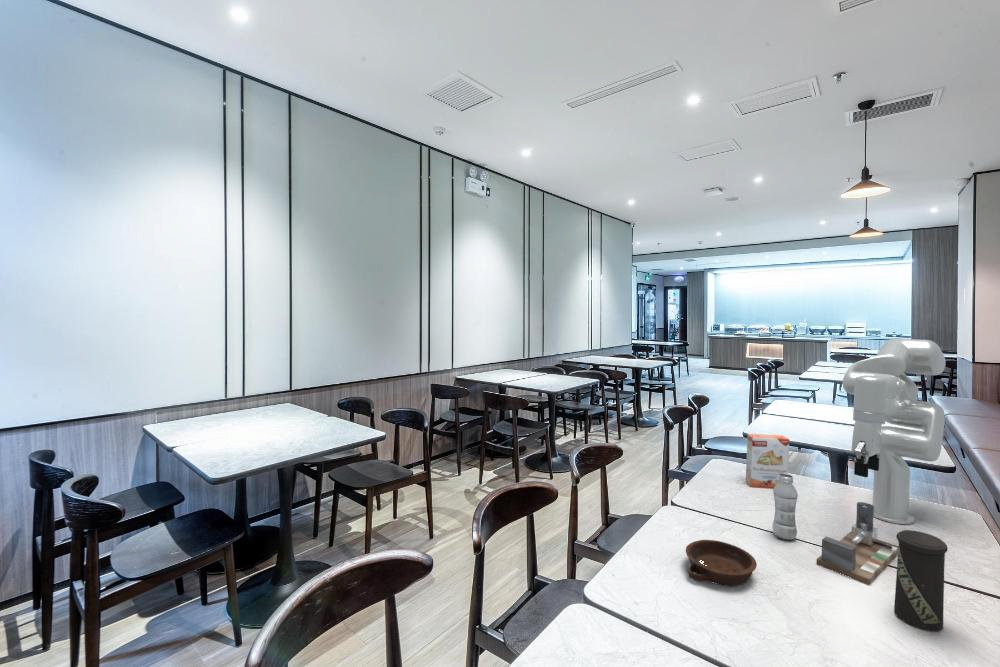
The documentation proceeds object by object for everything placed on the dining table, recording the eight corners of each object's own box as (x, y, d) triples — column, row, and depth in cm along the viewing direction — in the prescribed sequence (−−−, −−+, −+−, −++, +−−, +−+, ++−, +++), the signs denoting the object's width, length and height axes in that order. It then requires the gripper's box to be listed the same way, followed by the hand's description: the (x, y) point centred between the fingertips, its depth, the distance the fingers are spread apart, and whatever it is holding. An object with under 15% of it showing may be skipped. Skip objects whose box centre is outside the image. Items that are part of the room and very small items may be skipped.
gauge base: (851, 535, 144) (852, 512, 143) (900, 551, 134) (901, 527, 133) (816, 564, 127) (817, 538, 127) (869, 585, 118) (870, 557, 117)
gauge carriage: (856, 534, 140) (858, 500, 140) (894, 546, 133) (896, 510, 132) (844, 544, 134) (845, 509, 134) (882, 558, 127) (884, 520, 126)
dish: (774, 577, 121) (775, 559, 121) (723, 603, 111) (724, 583, 110) (716, 547, 137) (716, 531, 136) (666, 568, 126) (666, 550, 126)
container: (882, 608, 109) (886, 527, 108) (916, 606, 109) (920, 526, 108) (919, 633, 100) (923, 546, 99) (955, 631, 101) (960, 544, 100)
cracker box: (750, 487, 182) (752, 437, 181) (745, 482, 188) (746, 433, 187) (788, 489, 180) (789, 438, 179) (781, 484, 186) (783, 434, 185)
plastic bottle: (800, 543, 139) (802, 480, 138) (776, 541, 140) (778, 478, 139) (791, 533, 145) (793, 472, 144) (768, 531, 146) (770, 471, 145)
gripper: (863, 411, 143) (861, 463, 144) (843, 418, 133) (841, 474, 134) (893, 415, 137) (891, 470, 138) (875, 423, 127) (872, 482, 128)
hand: (866, 472), depth 136 cm, fingers open, 9 cm apart
